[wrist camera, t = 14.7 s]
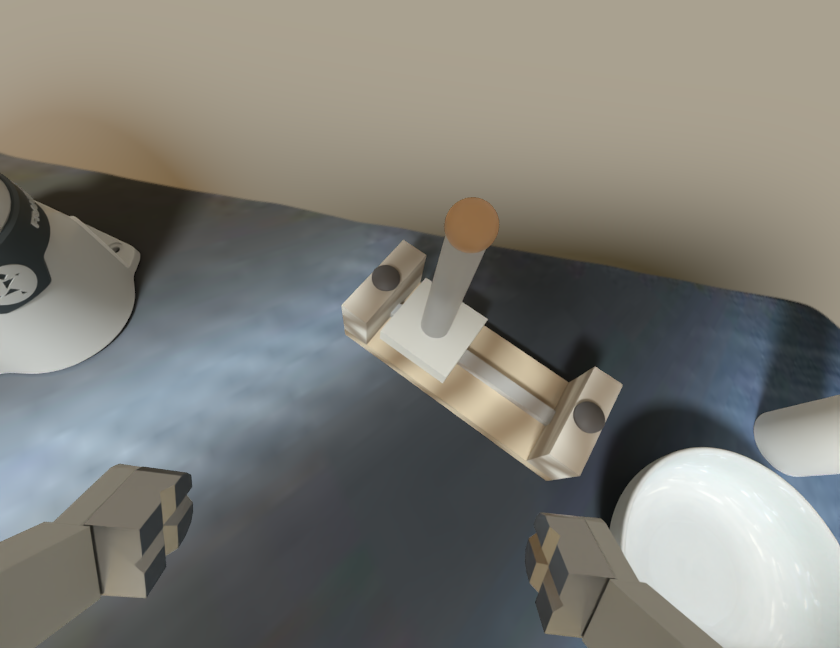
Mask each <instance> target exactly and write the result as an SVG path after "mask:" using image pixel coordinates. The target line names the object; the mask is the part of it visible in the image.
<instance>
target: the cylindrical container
mask: <svg viewBox="0 0 840 648" xmlns="http://www.w3.org/2000/svg"><path fill="white" fill-rule="evenodd" d="M754 437H755V441H756V444H757V447H758V448H759V450H760V452H761V454H762V455H763V457H764V458H765V459H766V460H767V461H768V462H769V463H770V464H771V465H772V466H773V467H774V468H775V469H777V470H779V471H780V472H782V473H784V474H786V475H789V476H794V477H802V476H817V475H831V474H840V395H836V396H832V397H828V398H824V399H820V400H815V401H811V402H807V403H803V404H799V405H794V406H790V407H786V408H782V409H778V410H773V411H769V412H765V413H763V414H761V415H760V416H759V417H758V418H757V420H756V421H755V425H754Z"/></svg>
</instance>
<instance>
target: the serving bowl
mask: <svg viewBox="0 0 840 648" xmlns="http://www.w3.org/2000/svg"><path fill="white" fill-rule="evenodd" d="M610 531H611V533H612V535H613V537H614V538H615V540H616V542H617V544H618V545H619V547H620V549H621V550H622V552H623V554H624V556H625V557H626V559H627V561H628V563H629V564H630V566H631V568H632V569H633V571H634V573H635V575H636V576H637V578H638V580H639V582H644V583H647V584H648V585H649V586H651V587H652V588H653V589H654V590H655V591H657V592H658V593H659V594H660V595H661V596H663V597H664V598H665V599H666V600H667V601H668V602H670V603H671V604H672V605H673V606H674V607H676V608H677V609H678V610H679V611H680V612H682V613H683V614H684V615H685V616H686V617H688V618H689V619H690V620H691V621H692V622H693V623H695V624H696V625H697V626H698V627H699V628H701V629H702V630H703V631H704V632H705V633H707V634H708V635H709V636H710V637H711V638H713V639H714V640H715V641H716V642H717V643H718V644H720V645H721V646H722V647H723V648H840V545H839V543H838V542H837V540H836V538H835V537H834V535H833V534H832V532H831V531H830V529H829V528H828V526H827V525H826V524H825V522H824V521H823V519H822V518H821V517H820V516H819V514H818V513H817V512H816V511H815V509H814V508H813V507H812V506H811V505H810V504H809V503H808V502H807V500H806V499H805V498H804V497H803V496H802V495H801V494H800V493H799V492H798V491H797V490H796V489H795V488H793V487H792V486H791V485H790V484H789V483H788V482H786V481H785V480H784V479H783V478H781V477H780V476H779V475H777V474H776V473H774V472H773V471H772V470H770V469H769V468H767V467H765V466H764V465H762V464H760V463H758V462H756V461H754V460H752V459H750V458H748V457H746V456H743V455H741V454H738V453H735V452H732V451H728V450H724V449H719V448H711V447H693V448H687V449H682V450H678V451H675V452H673V453H670V454H668V455H665V456H663V457H661V458H659V459H657V460H655V461H654V462H652V463H650V464H649V465H647V466H646V467H645V468H643V469H642V470H641V471H640V472H639V473H638V474H637V475H636V476H635V477H634V478H633V479H632V480H631V481H630V482H629V484H628V485H627V486H626V488H625V489H624V491H623V493H622V494H621V496H620V498H619V500H618V502H617V505H616V507H615V510H614V513H613V516H612V520H611V524H610Z"/></svg>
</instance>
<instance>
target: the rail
mask: <svg viewBox="0 0 840 648" xmlns="http://www.w3.org/2000/svg"><path fill="white" fill-rule="evenodd" d="M425 260H426V254H424V253H423V252H421V251H420V250H418V249H416V248H415V247H413V246H412V245H410V244H409V243H407V242H406V241H404V240H403V241H402V242H401V243H400V244H399V245H398V246H397V247H396V248H395V249H394V250H393V251H392V253H391V254H390V255H389V256H388V257H387V258H386V259H385V260H384V261H383V262H382V263H381V264H380V265H379V266H378V267H377V268H376V269H375V270H374V271H373V273H372V274H371V275H370V276H369V277H368V278H367V279H366V280H365V281H364V282H363V283H362V284H361V285H360V286H359V287H358V288H357V289H356V290H355V292H354V293H353V294H352V295H351V296H350V297H349V298H348V299H347V300H346V301H345V302H344V303H343V304H342V305H341V306H342V313H343V320H344V328H345V334H346V335H347V336H348V337H350V338H351V339H353V340H354V341H355V342H357V343H358V344H359V345H361V346H362V347H363V348H365V349H366V350H368V351H369V352H370V353H372V354H373V355H374V356H376V357H377V358H379V359H380V360H381V361H383V362H384V363H385V364H387V365H388V366H390V367H391V368H392V369H394V370H395V371H396V372H398V373H399V374H400V375H402V376H403V377H405V378H406V379H407V380H409V381H410V382H411V383H413V384H414V385H416V386H417V387H418V388H420V389H421V390H422V391H424V392H425V393H427V394H428V395H429V396H431V397H432V398H433V399H435V400H436V401H438V402H439V403H440V404H442V405H443V406H444V407H446V408H447V409H448V410H450V411H451V412H453V413H454V414H455V415H457V416H458V417H459V418H461V419H462V420H464V421H465V422H466V423H468V424H469V425H470V426H472V427H473V428H475V429H476V430H477V431H479V432H480V433H481V434H483V435H484V436H486V437H487V438H488V439H490V440H491V441H492V442H494V443H495V444H496V445H498V446H499V447H501V448H502V449H503V450H505V451H506V452H507V453H509V454H510V455H512V456H513V457H514V458H516V459H517V460H518V461H520V462H521V463H523V464H524V465H525V466H527V467H528V468H529V469H531V470H532V471H534V472H535V473H536V474H538V475H539V476H540V477H542V478H543V479H544V480H546V481H549V480H555V479H562V478H569V477H576V476H580V475H581V473H582V470H583V468H584V466H585V464H586V462H587V460H588V458H589V456H590V453H591V451H592V449H593V447H594V445H595V443H596V441H597V439H598V436H599V434H600V432H601V430H602V429H603V427H604V425H605V422H606V419H607V417H608V415H609V413H610V411H611V409H612V407H613V405H614V402H615V400H616V398H617V396H618V394H619V392H620V390H621V388H622V384H621V383H619V382H618V381H616V380H615V379H613V378H612V377H610V376H609V375H607V374H606V373H604V372H603V371H601V370H600V369H598V368H597V367H593V368H592V369H590V370H589V371H587V372H585V373H584V374H582V375H580V376H579V377H577V378H576V379H574V380H572V381H571V382H567V381H566V380H564V379H563V378H561V377H560V376H558V375H557V374H555V373H554V372H552V371H551V370H549V369H548V368H546V367H545V366H543V365H542V364H540V363H539V362H538V361H536V360H535V359H533V358H532V357H530V356H529V355H527V354H526V353H524V352H523V351H521V350H520V349H518V348H517V347H515V346H514V345H512V344H511V343H509V342H508V341H506V340H505V339H504V338H502V337H501V336H499V335H498V334H496V333H495V332H493V331H492V330H490V329H489V328H487V327H486V326H483V328H482V329H481V330H480V332H479V333H478V335H477V336H476V337H475V339H474V340H473V342H472V343H471V344H470V346H469V347H468V349H467V350H466V351H465V353H464V354H463V356H462V357H461V358H460V360H459V361H458V363H457V364H456V365H455V367H454V368H453V370H452V371H451V372H450V374H449V375H448V377H447V378H446V379H445V381H444V382H443V383H441V382H440V381H438V380H437V379H436V378H434V377H433V376H431V375H430V374H429V373H427V372H426V371H424V370H423V369H422V368H420V367H419V366H418V365H416V364H415V363H413V362H412V361H411V360H409V359H408V358H406V357H405V356H404V355H402V354H401V353H399V352H398V351H397V350H395V349H394V348H392V347H391V346H390V345H388V344H387V343H386V342H384V341H383V340H381V339H380V331H381V329H382V328H383V327H384V326H385V325H386V324H387V322H388V321H389V320H390V319H391V318H392V317H393V315H394V314H395V313H396V312H397V311H398V310H399V308H400V307H401V306H402V305H403V304H404V303H405V301H406V300H407V299H408V298H409V297H410V296H411V294H412V293H413V292H414V291H415V290H416V289H417V287H418V286H419V285H420V284H421V277H422V273H423V268H424V264H425Z"/></svg>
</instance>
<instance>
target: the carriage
mask: <svg viewBox="0 0 840 648" xmlns="http://www.w3.org/2000/svg"><path fill="white" fill-rule="evenodd" d="M444 227H445V228H444V229H445V234H446V235H445V238H444V242H443V246H442V249H441V253H440V256H439V260H438V263H437V267H436V270H435V274H434V278H433V281H430V280H429V279H427V278H425V279H424V280H423V282H422V283H421V284H420V285H419V286H418V287H417V289H416V290H415V291H414V292H413V293H412V294H411V296H410V297H409V298H408V299H407V300H406V301H405V303H404V304H403V305H402V306H401V307H400V308H399V310H398V311H397V312H396V313H395V314H394V315H393V317H392V318H391V319H390V320H389V321H388V322H387V324H386V325H385V326H384V327H383V328H382V329H381V331H380V339H381V340H383V341H384V342H386V343H387V344H388V345H390V346H391V347H392V348H394V349H395V350H397V351H398V352H399V353H401V354H402V355H404V356H405V357H406V358H408V359H409V360H411V361H412V362H413V363H415V364H416V365H418V366H419V367H420V368H422V369H423V370H424V371H426V372H427V373H429V374H430V375H431V376H433V377H434V378H436V379H437V380H438V381H440V382H441V383H443V382H444V381H445V379H446V378H447V377H448V375H449V374H450V372H451V371H452V370H453V368H454V367H455V365H456V364H457V363H458V361H459V360H460V358H461V357H462V356H463V354H464V353H465V351H466V350H467V349H468V347H469V346H470V344H471V343H472V342H473V340H474V339H475V337H476V336H477V335H478V333H479V332H480V330H481V329H482V328H483V326H484V325H485V323H486V321H487V320H488V319H487V318H485V317H484V316H482V315H481V314H479V313H478V312H476V311H475V310H473V309H472V308H470V307H469V306H467V305H466V304H464V303H463V302H462V301H463V298H464V296H465V294H466V292H467V290H468V287H469V285H470V283H471V281H472V279H473V276H474V274H475V272H476V270H477V268H478V265H479V263H480V261H481V259H482V256H483V254H484V252H485V250H486V248H488V247H489V246H490V245H491V244H492V243H493V242H494V240H495V238H496V237H497V234H498V231H499V218H498V215H497V213H496V211H495V209H494V208H493V206H492V205H491V204H490V203H488V202H487V201H485V200H483V199H480V198H476V197H471V198H465V199H462V200H460V201H458V202H457V203H455V204H454V205H453V206H452V207H451V208H450V210H449V212H448V213H447V216H446V218H445V224H444Z"/></svg>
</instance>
